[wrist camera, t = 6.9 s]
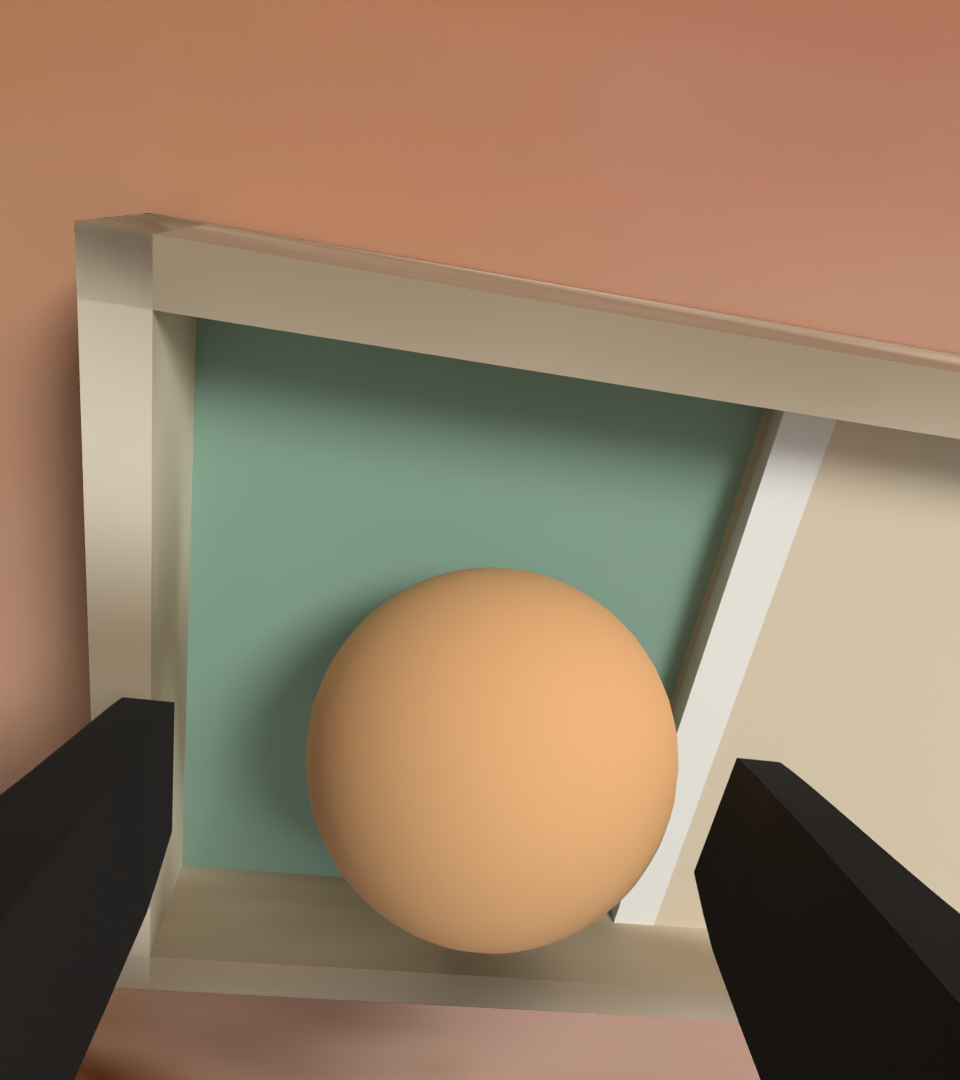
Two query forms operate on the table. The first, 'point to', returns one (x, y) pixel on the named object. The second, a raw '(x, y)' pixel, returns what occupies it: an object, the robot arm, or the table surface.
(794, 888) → the robot arm
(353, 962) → the rails
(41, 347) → the table surface
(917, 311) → the table surface
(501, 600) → the ball
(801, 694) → the lane
